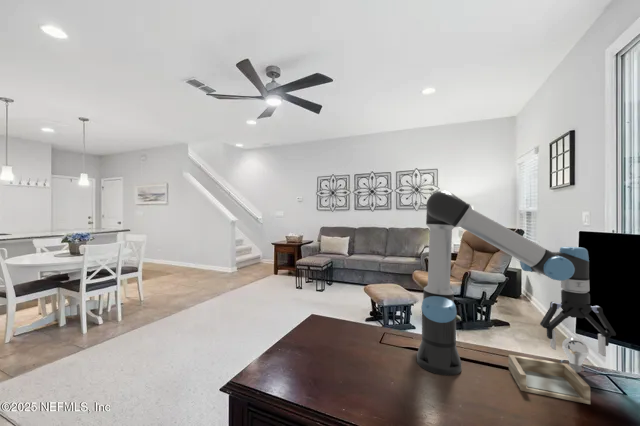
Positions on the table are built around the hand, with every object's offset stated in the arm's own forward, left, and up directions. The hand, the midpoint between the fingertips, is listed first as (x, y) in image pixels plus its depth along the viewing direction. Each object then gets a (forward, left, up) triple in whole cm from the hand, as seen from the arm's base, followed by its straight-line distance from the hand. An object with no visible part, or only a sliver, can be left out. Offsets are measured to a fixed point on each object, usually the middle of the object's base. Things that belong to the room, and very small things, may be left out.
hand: (577, 351), depth 97 cm
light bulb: (0, 0, -8) cm, 8 cm away
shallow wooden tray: (-13, -13, -8) cm, 20 cm away
